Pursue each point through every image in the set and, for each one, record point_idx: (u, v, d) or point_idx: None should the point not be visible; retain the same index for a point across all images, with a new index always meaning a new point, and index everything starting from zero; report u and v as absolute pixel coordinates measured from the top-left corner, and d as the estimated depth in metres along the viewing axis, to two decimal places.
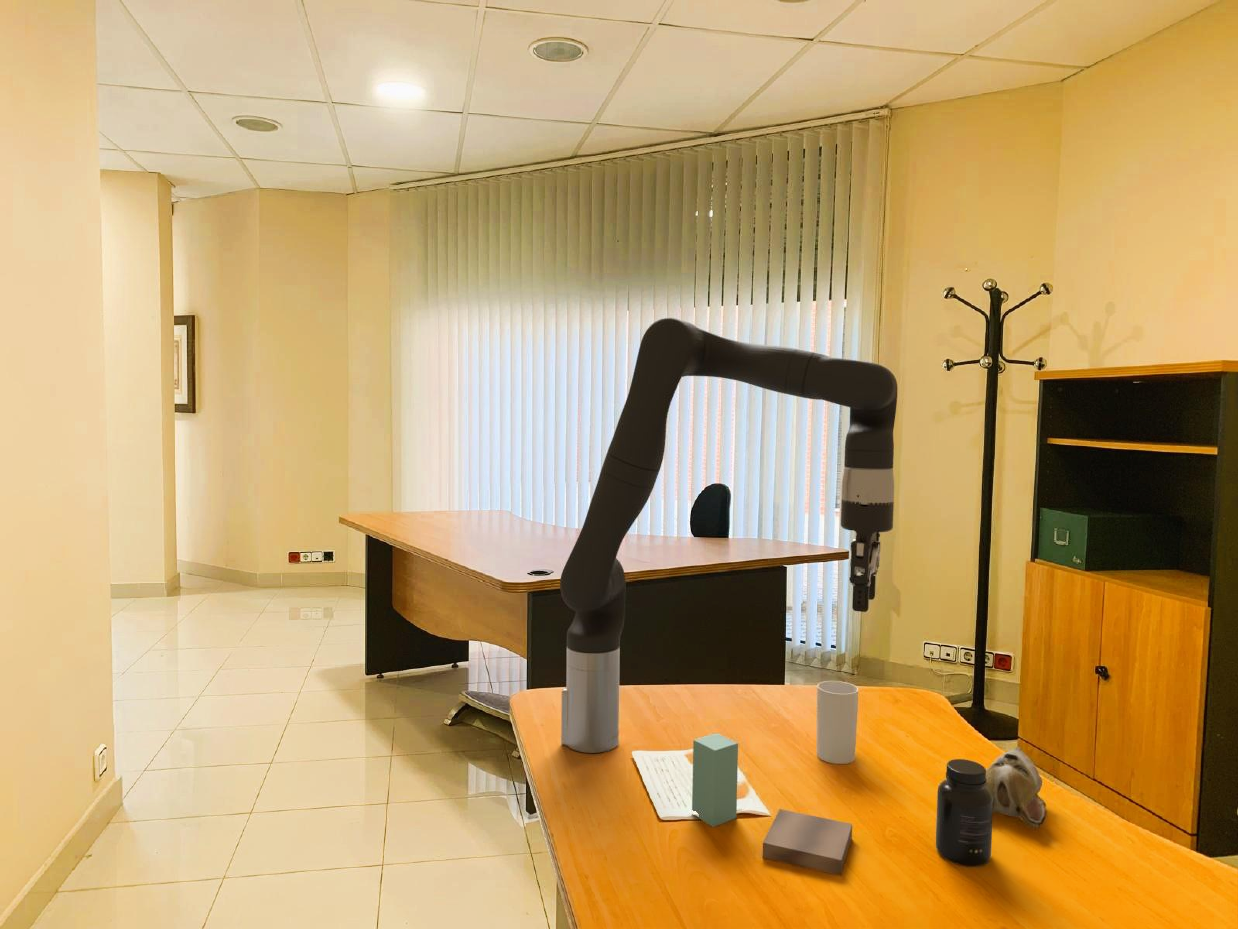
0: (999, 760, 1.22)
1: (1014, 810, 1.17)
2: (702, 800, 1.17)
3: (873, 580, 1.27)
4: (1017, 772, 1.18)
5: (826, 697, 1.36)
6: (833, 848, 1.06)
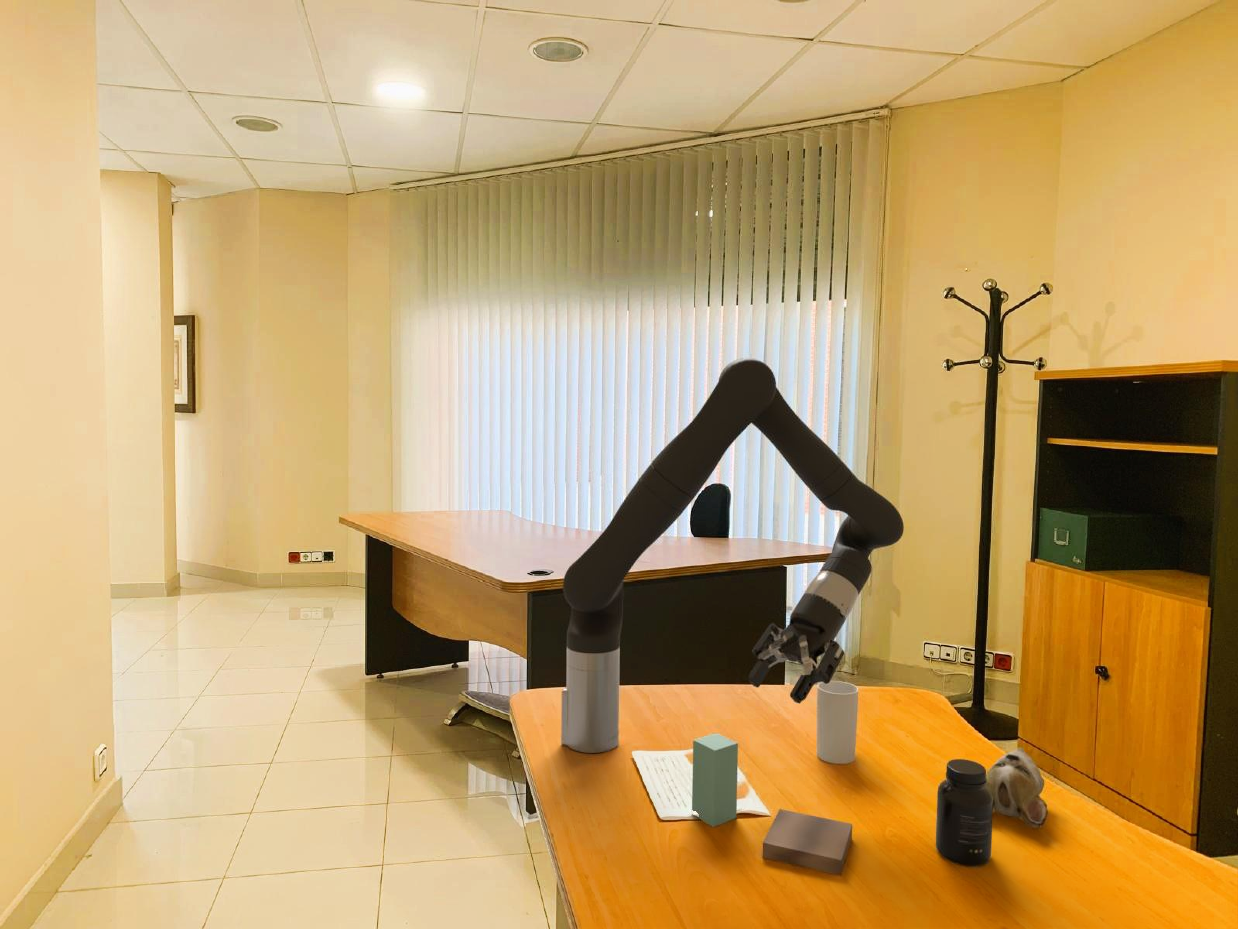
0: (1001, 760, 1.22)
1: (1015, 810, 1.17)
2: (702, 800, 1.17)
3: (767, 671, 1.29)
4: (1018, 773, 1.18)
5: (826, 697, 1.36)
6: (833, 848, 1.06)
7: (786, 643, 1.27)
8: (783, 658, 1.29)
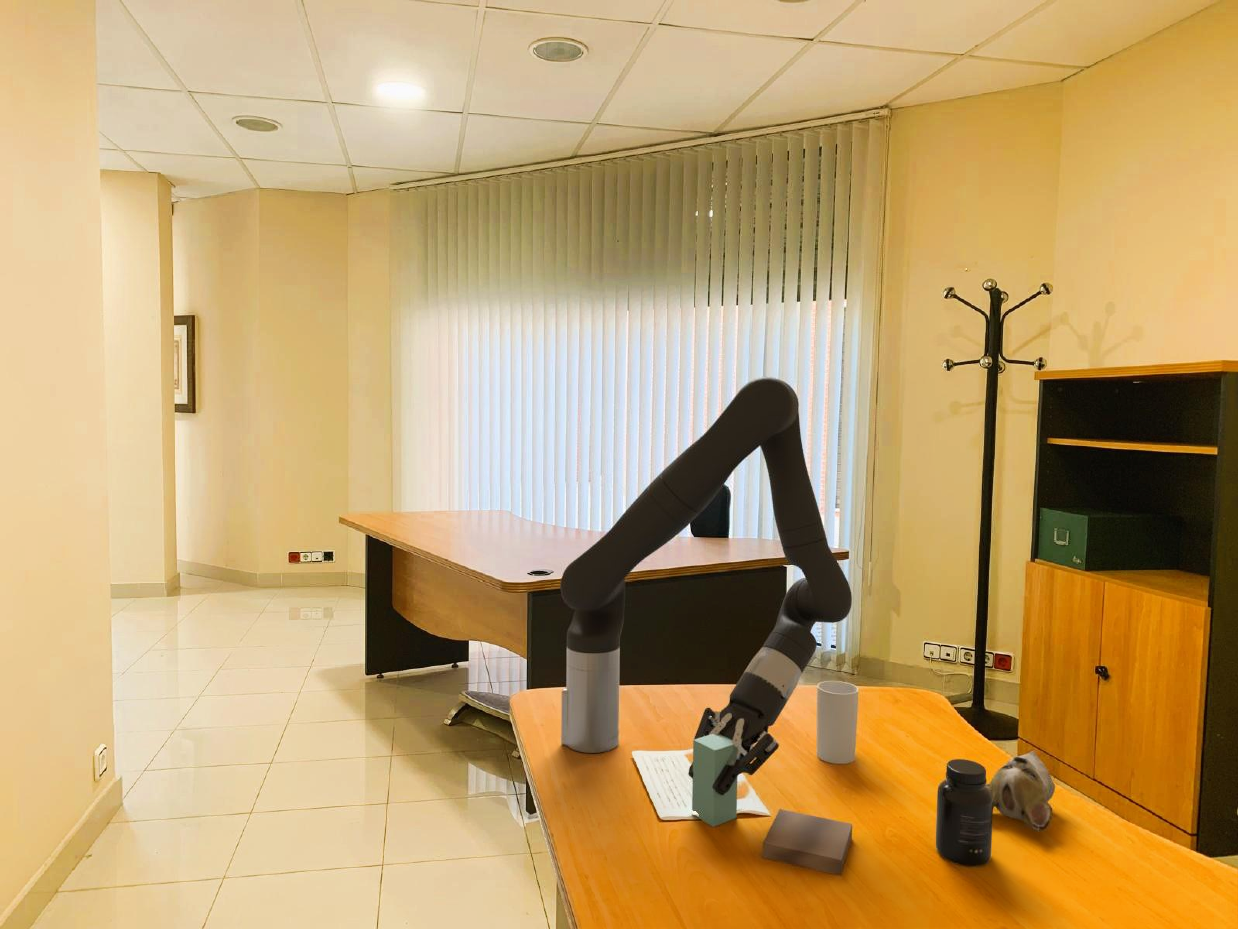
0: (1008, 763, 1.21)
1: (1019, 813, 1.16)
2: (702, 800, 1.17)
3: None
4: (1024, 775, 1.17)
5: (826, 697, 1.36)
6: (833, 848, 1.06)
7: (726, 727, 1.20)
8: None
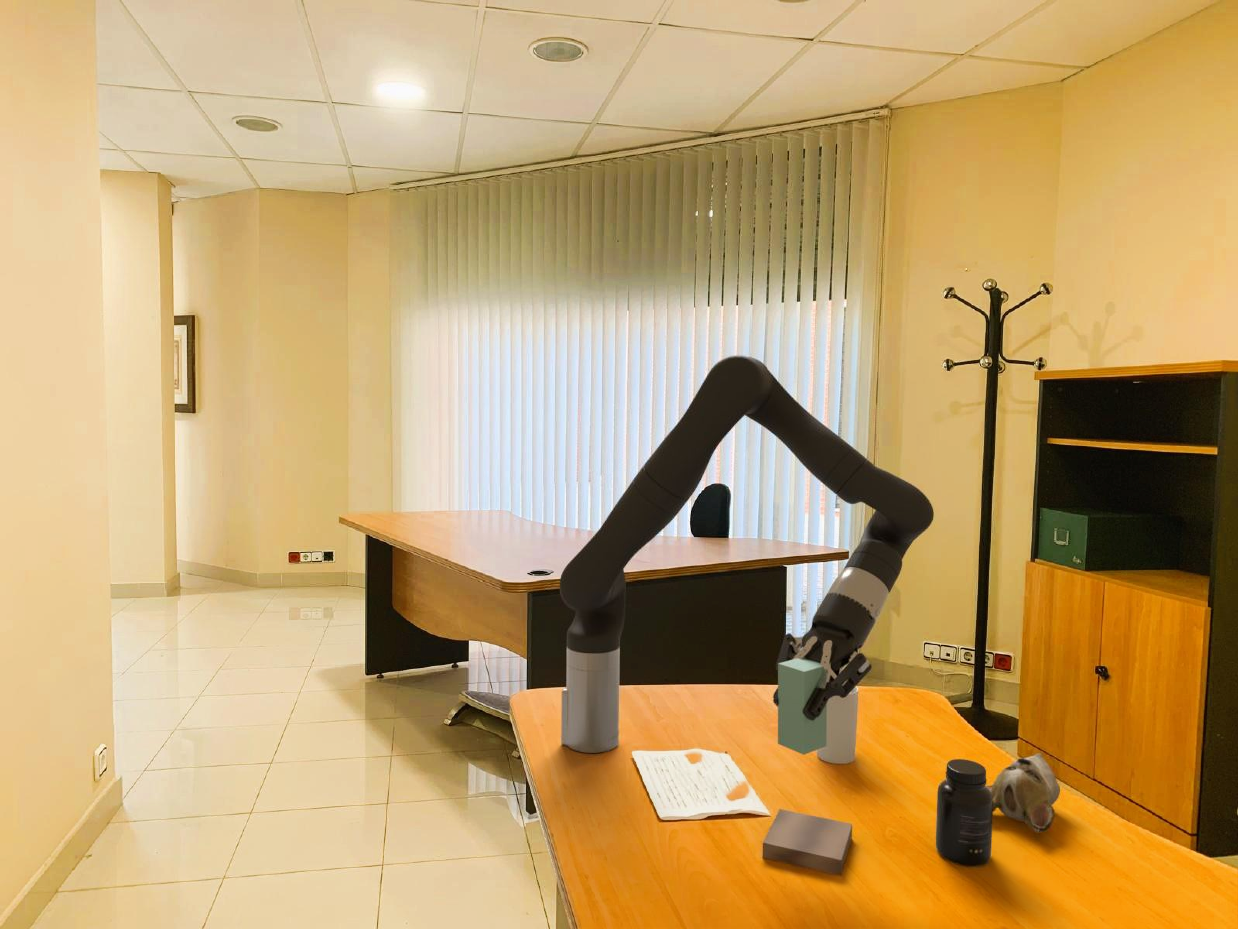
0: (1012, 764, 1.20)
1: (1021, 814, 1.16)
2: (790, 727, 1.09)
3: None
4: (1026, 777, 1.17)
5: None
6: (833, 848, 1.06)
7: (811, 651, 1.12)
8: None
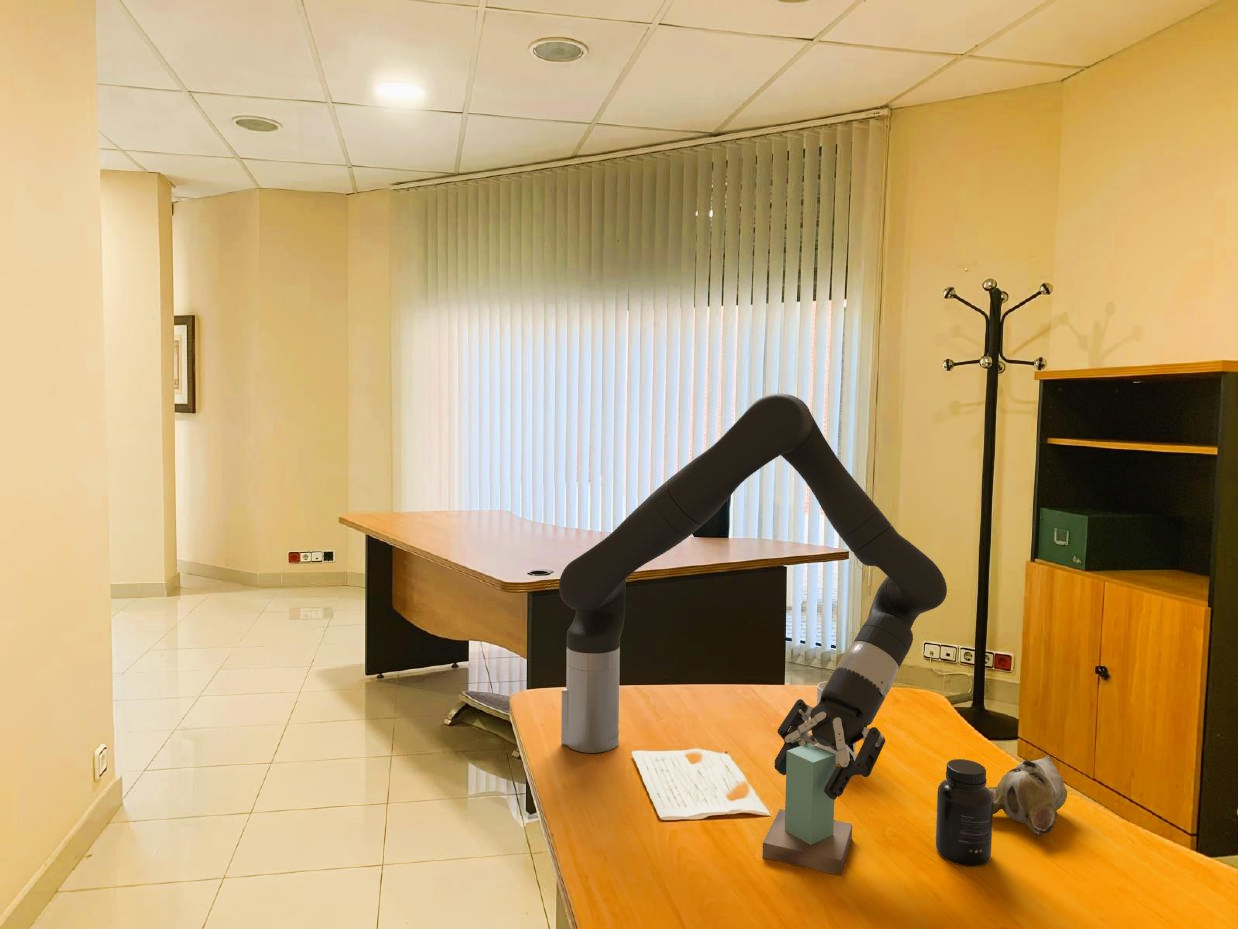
0: (1018, 766, 1.20)
1: (1024, 816, 1.15)
2: (797, 815, 1.08)
3: None
4: (1030, 779, 1.16)
5: None
6: (833, 848, 1.06)
7: (817, 726, 1.12)
8: (813, 741, 1.13)
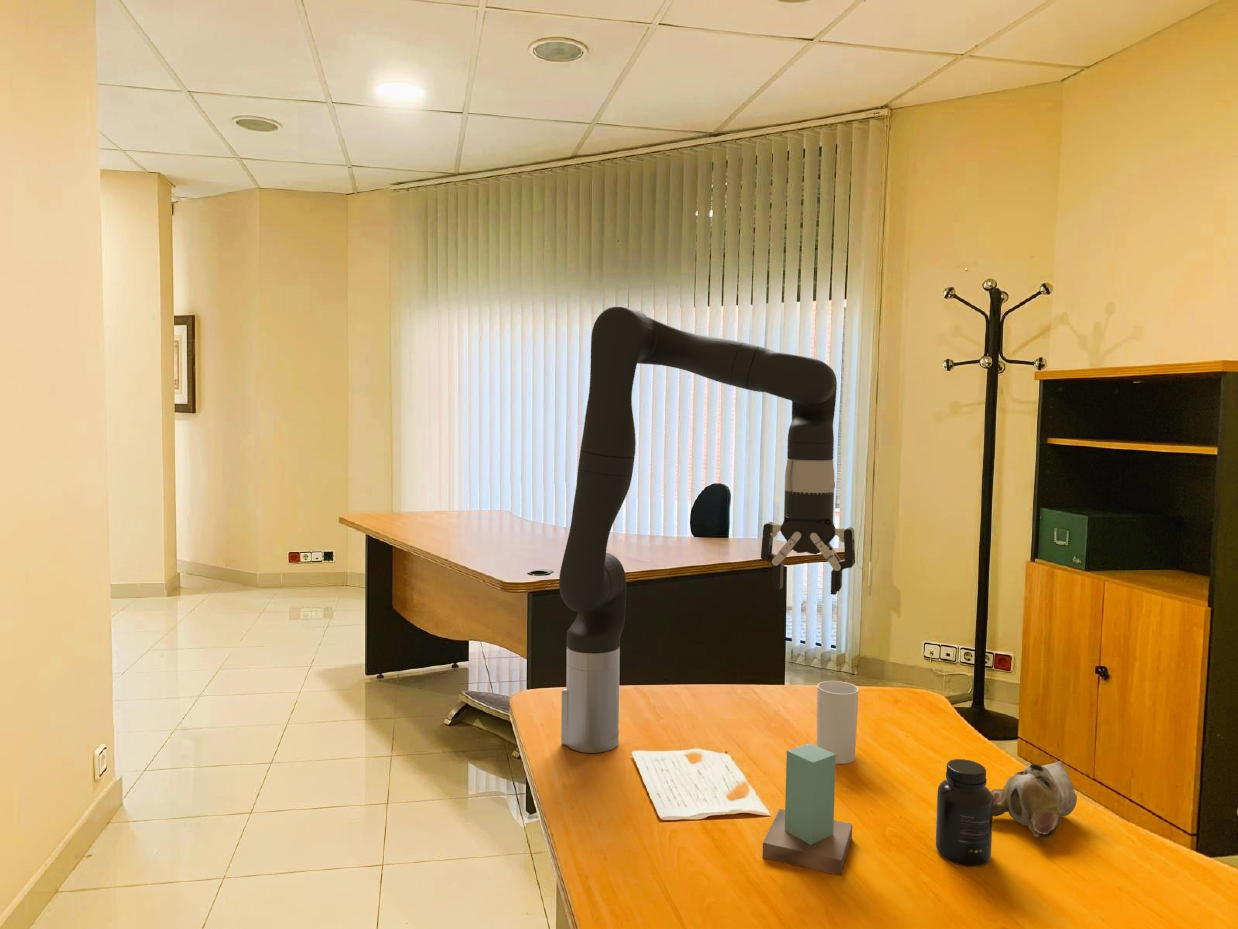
0: (1025, 769, 1.19)
1: (1027, 819, 1.14)
2: (797, 815, 1.08)
3: None
4: (1035, 782, 1.15)
5: (826, 697, 1.36)
6: (833, 848, 1.06)
7: (796, 543, 1.28)
8: (791, 550, 1.31)
